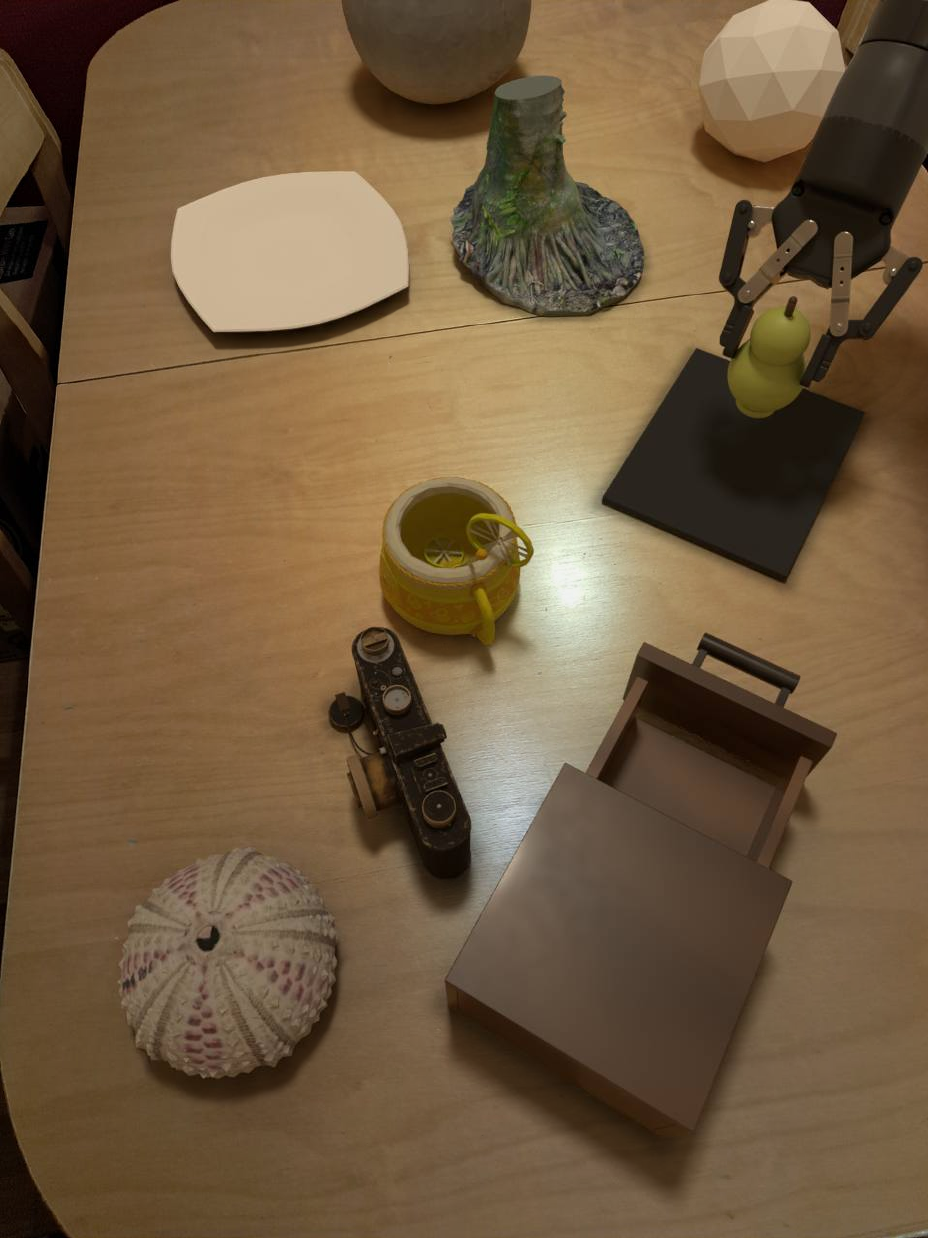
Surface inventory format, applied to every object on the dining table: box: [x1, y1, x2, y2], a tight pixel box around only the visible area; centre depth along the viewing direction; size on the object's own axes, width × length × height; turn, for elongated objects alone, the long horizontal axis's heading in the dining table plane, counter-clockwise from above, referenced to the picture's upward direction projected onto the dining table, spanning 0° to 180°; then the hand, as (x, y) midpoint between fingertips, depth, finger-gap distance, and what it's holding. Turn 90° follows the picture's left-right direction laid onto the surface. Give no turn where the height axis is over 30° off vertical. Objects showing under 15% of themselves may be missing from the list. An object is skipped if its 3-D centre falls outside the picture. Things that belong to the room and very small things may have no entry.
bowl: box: [341, 0, 532, 105], centre depth 103 cm, size 20×20×15 cm
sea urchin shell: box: [116, 846, 341, 1080], centre depth 56 cm, size 13×14×8 cm
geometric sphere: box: [698, 0, 846, 163], centre depth 98 cm, size 14×15×15 cm
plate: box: [170, 170, 410, 334], centre depth 93 cm, size 23×23×2 cm
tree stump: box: [450, 75, 645, 317], centre depth 90 cm, size 18×20×18 cm
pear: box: [728, 295, 812, 418], centre depth 70 cm, size 6×6×11 cm
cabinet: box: [444, 762, 793, 1139], centre depth 56 cm, size 15×15×9 cm
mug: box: [378, 476, 535, 646], centre depth 69 cm, size 13×11×12 cm
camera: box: [327, 626, 472, 881], centre depth 63 cm, size 16×7×8 cm, turn 21°
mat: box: [601, 347, 866, 582], centre depth 80 cm, size 16×20×1 cm
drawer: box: [585, 632, 838, 869], centre depth 62 cm, size 18×13×7 cm
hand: (766, 370), depth 70 cm, fingers closed on pear, 5 cm apart
